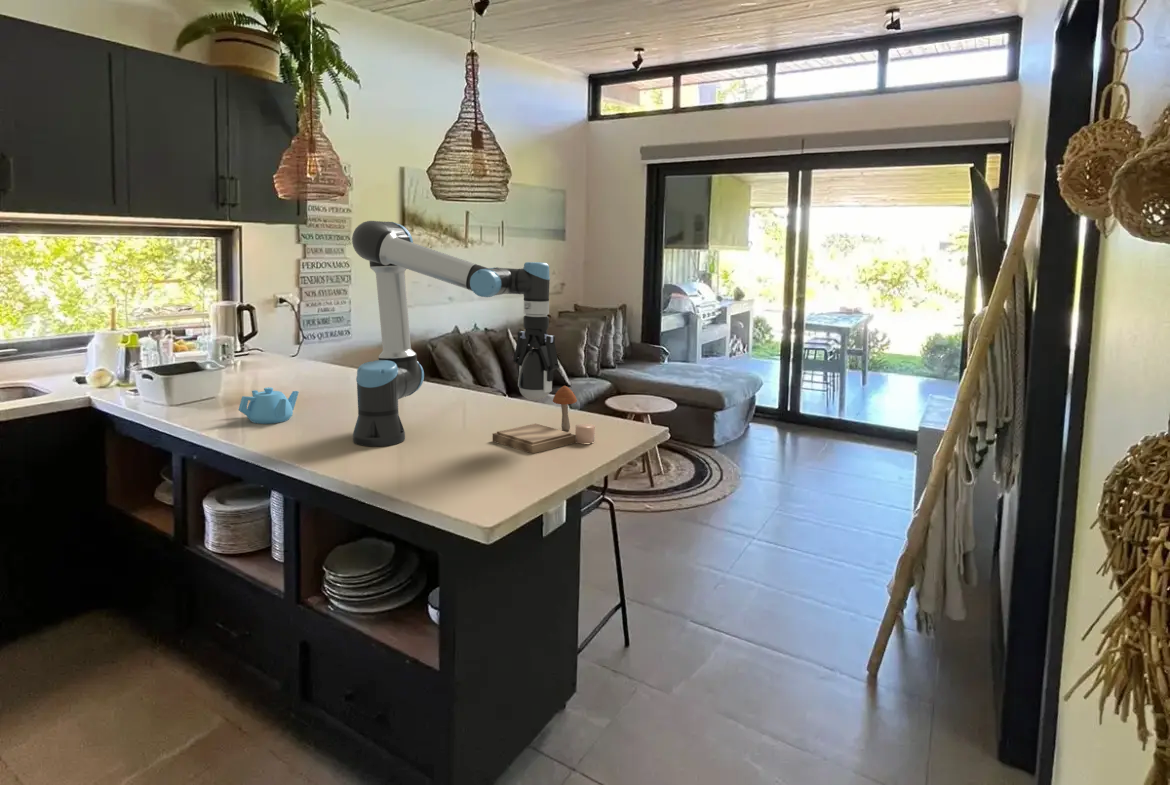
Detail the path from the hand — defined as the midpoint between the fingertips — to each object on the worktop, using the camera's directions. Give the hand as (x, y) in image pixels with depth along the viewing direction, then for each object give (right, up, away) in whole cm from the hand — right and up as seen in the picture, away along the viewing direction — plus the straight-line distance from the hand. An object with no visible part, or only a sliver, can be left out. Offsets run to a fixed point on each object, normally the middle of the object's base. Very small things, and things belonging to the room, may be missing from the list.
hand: (535, 389), depth 217 cm
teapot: (-89, -10, +21) cm, 92 cm away
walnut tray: (-1, -16, +3) cm, 17 cm away
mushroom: (+8, -14, +18) cm, 24 cm away
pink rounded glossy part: (+15, -16, +5) cm, 23 cm away
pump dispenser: (0, -3, +1) cm, 3 cm away
